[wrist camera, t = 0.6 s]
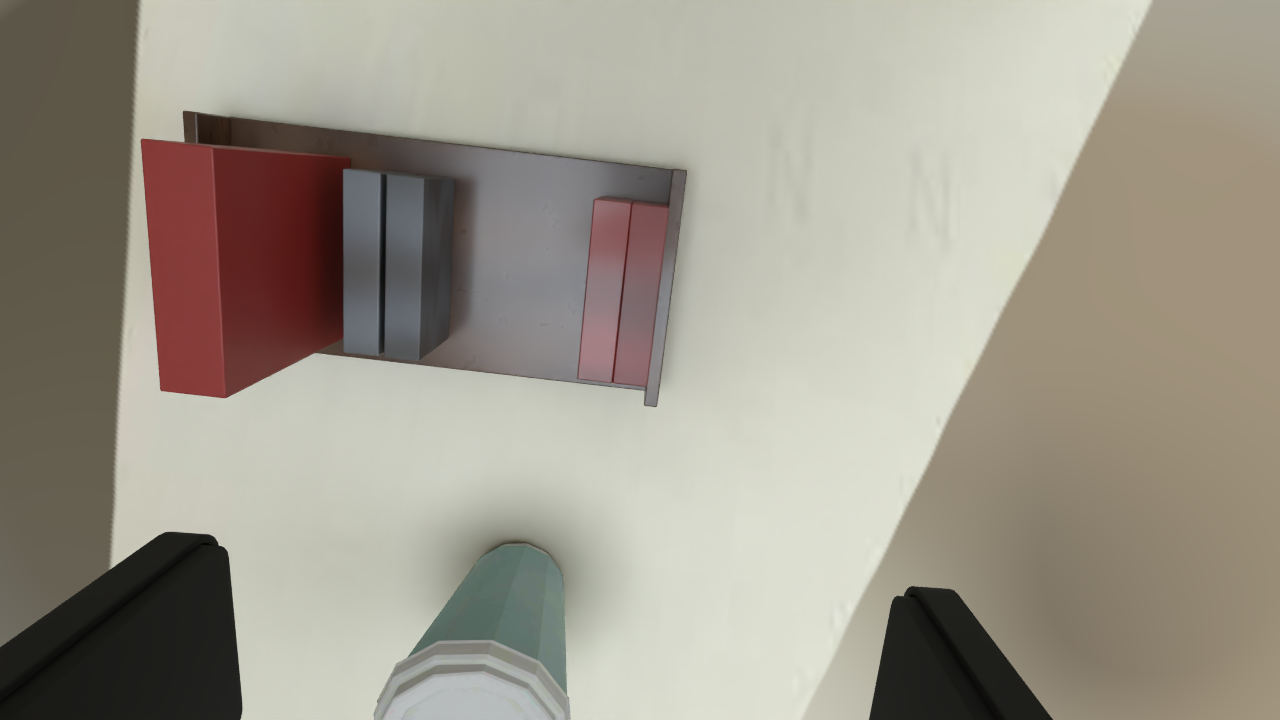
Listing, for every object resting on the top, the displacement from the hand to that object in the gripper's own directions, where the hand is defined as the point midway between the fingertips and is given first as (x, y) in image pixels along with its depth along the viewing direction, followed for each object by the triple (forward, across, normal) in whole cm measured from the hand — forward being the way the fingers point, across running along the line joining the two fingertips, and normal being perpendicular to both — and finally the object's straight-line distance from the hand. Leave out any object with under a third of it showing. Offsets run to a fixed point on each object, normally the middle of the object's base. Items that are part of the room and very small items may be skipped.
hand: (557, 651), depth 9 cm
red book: (+34, +19, -1) cm, 39 cm away
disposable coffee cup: (+35, +6, +22) cm, 42 cm away
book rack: (+34, +12, -1) cm, 36 cm away
